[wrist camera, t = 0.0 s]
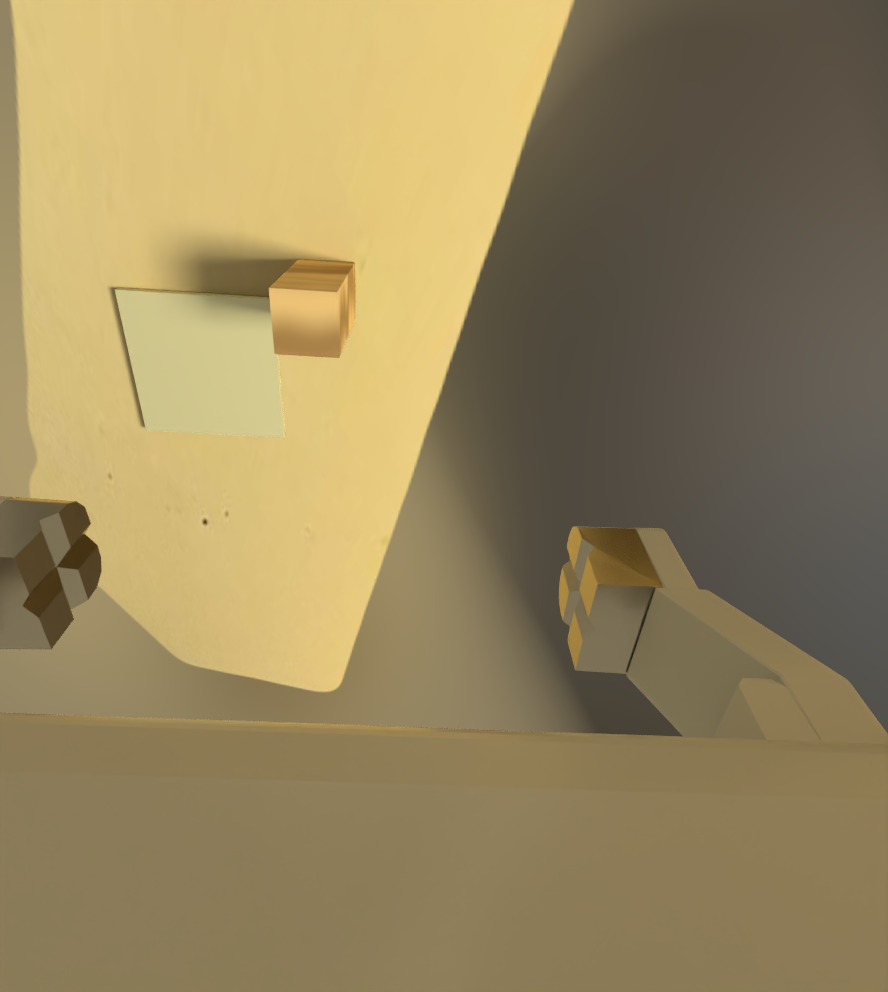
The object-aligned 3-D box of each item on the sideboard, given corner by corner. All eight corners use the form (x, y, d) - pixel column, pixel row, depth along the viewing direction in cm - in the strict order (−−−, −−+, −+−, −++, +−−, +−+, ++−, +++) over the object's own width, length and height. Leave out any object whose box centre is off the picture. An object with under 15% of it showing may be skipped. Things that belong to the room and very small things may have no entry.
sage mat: (118, 287, 54) (114, 289, 54) (273, 297, 55) (271, 299, 54) (149, 427, 62) (145, 430, 61) (285, 434, 62) (283, 437, 61)
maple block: (298, 259, 53) (268, 288, 44) (354, 262, 53) (336, 292, 44) (302, 315, 56) (274, 354, 46) (355, 318, 56) (339, 357, 47)
